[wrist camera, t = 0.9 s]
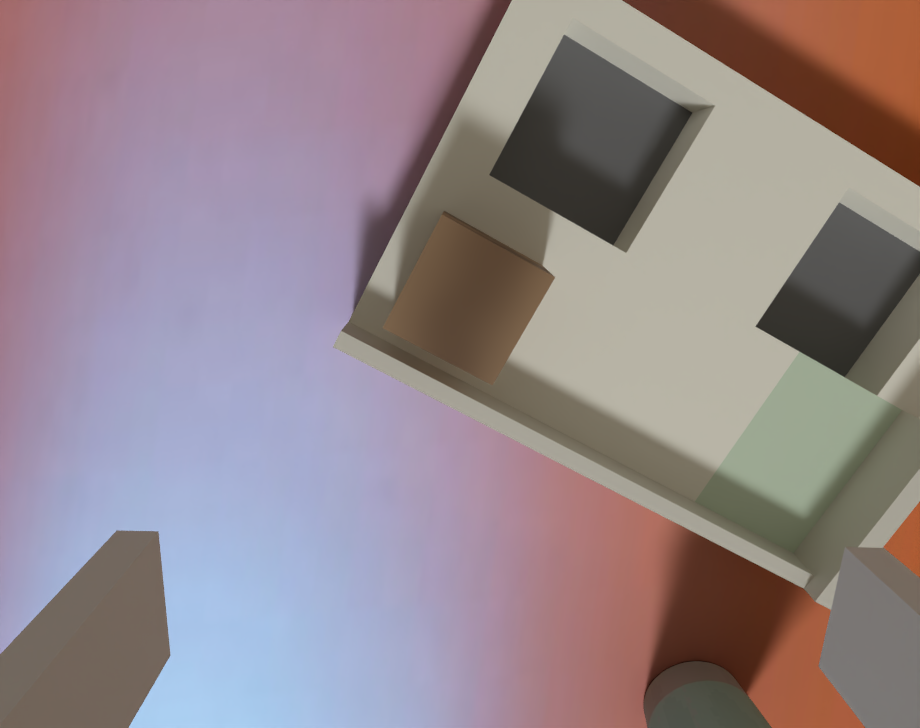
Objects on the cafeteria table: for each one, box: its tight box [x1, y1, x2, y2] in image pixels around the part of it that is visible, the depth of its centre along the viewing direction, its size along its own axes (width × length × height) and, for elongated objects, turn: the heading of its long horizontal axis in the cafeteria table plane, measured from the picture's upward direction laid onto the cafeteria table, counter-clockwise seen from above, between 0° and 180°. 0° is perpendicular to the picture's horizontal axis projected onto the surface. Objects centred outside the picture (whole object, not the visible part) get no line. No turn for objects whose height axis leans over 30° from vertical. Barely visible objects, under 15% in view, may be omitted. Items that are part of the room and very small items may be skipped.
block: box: [383, 211, 555, 385], centre depth 28 cm, size 5×5×4 cm
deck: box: [333, 0, 920, 609], centre depth 30 cm, size 26×18×6 cm
